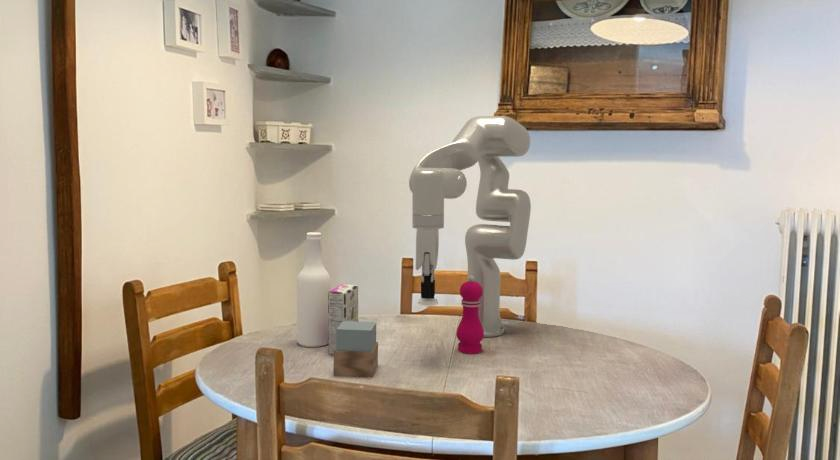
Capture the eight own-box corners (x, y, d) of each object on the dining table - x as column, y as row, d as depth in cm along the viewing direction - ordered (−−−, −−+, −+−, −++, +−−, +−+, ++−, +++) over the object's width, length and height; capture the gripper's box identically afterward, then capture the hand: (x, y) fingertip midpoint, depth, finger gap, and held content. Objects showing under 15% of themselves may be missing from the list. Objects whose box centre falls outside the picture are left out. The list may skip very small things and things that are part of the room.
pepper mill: (487, 349, 171) (489, 274, 169) (478, 356, 165) (480, 278, 163) (461, 345, 174) (463, 272, 172) (451, 352, 168) (453, 276, 166)
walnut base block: (377, 366, 155) (378, 342, 155) (372, 378, 147) (372, 352, 146) (340, 365, 156) (340, 340, 155) (333, 376, 147) (333, 351, 147)
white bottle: (309, 337, 180) (309, 230, 177) (336, 341, 176) (336, 232, 173) (290, 345, 172) (290, 233, 169) (318, 349, 168) (318, 235, 165)
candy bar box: (341, 343, 175) (341, 283, 173) (358, 344, 174) (359, 284, 172) (327, 354, 164) (327, 291, 162) (345, 356, 163) (346, 292, 161)
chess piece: (440, 301, 158) (440, 261, 157) (434, 306, 153) (434, 265, 152) (421, 300, 160) (421, 260, 158) (414, 304, 155) (414, 263, 154)
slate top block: (376, 342, 154) (376, 322, 154) (371, 352, 146) (371, 330, 146) (343, 341, 155) (343, 320, 155) (336, 350, 147) (336, 329, 147)
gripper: (414, 217, 162) (414, 289, 164) (409, 225, 146) (409, 304, 149) (444, 218, 162) (444, 290, 164) (442, 225, 146) (442, 305, 148)
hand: (427, 296), depth 156 cm, fingers closed on chess piece
